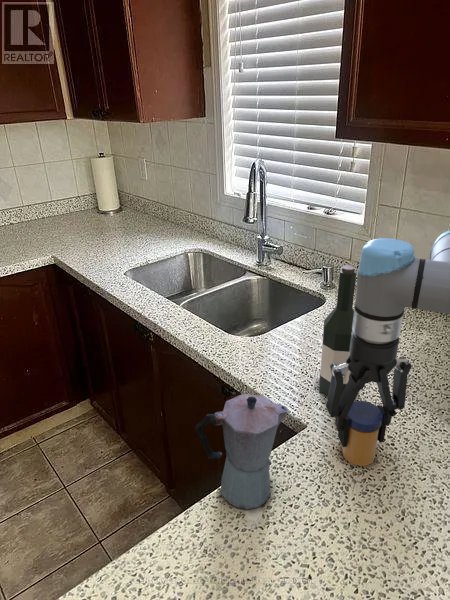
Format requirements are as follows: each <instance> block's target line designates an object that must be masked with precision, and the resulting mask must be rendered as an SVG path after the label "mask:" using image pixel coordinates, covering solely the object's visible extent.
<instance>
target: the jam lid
mask: <svg viewBox="0 0 450 600" xmlns="http://www.w3.org/2000/svg"><path fill="white" fill-rule="evenodd" d="M377 406H378V405H376V404H374V403H372V402H369V401H364V400H355V401H354V403H353V405H352V407H351V409H350V411H349V413H348V416H349V418H350V426H351V427H352V428H354V429H356V430H358V431H362V432H373V431H376V430H378V429H379V428H380V427H381V425H382V421H383V420H382V418H383V414H382V412H381V410H380V409H379V408H378V407H377Z"/></svg>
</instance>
